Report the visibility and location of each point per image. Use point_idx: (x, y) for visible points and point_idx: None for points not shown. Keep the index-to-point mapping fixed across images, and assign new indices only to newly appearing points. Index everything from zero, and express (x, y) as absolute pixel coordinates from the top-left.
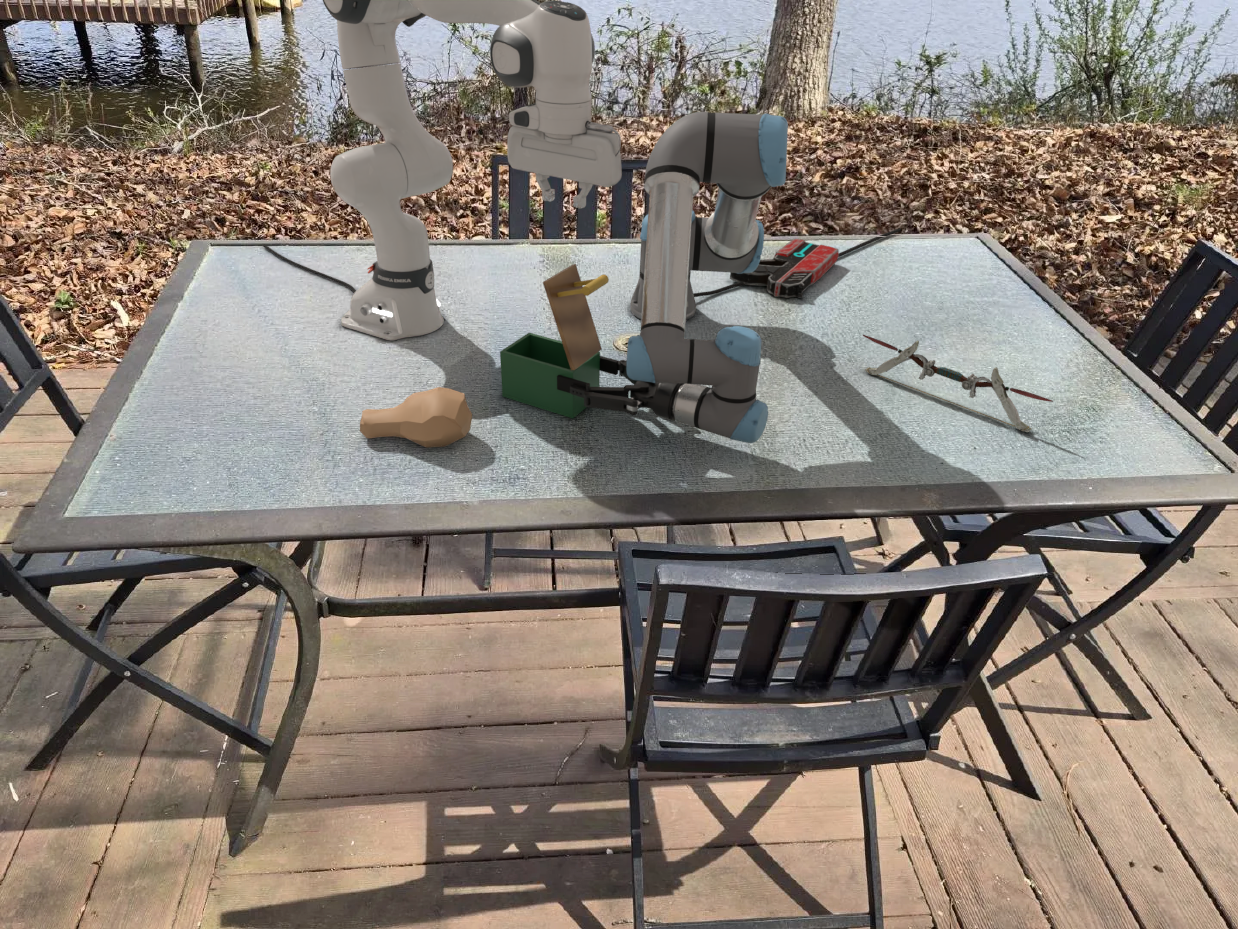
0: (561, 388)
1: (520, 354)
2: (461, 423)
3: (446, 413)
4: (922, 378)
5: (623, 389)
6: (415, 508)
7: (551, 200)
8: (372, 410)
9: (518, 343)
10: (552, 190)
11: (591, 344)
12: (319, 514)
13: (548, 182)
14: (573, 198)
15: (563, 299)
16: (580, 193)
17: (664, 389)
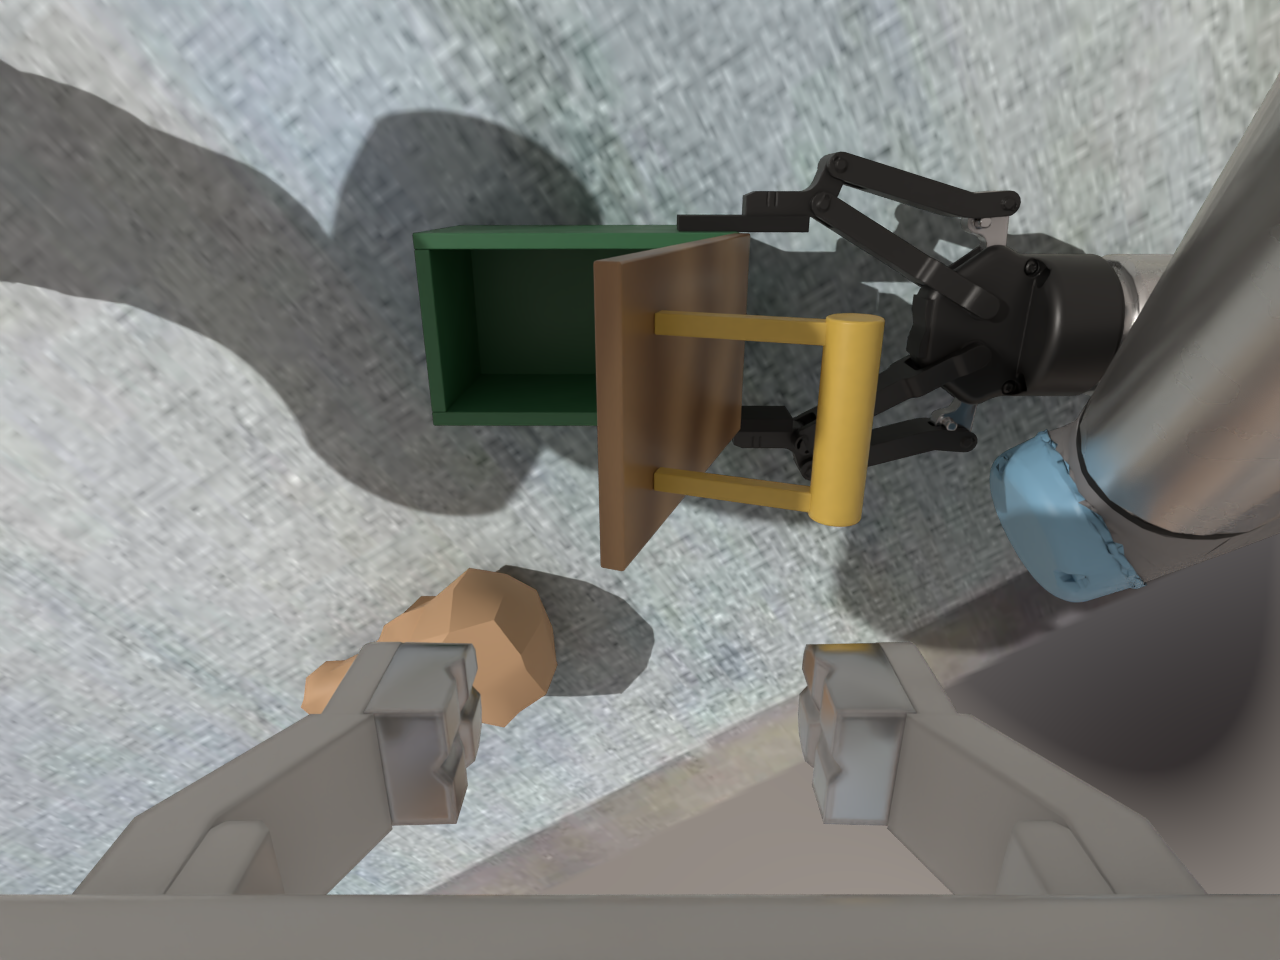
0: None
1: (450, 313)
2: (552, 666)
3: (521, 704)
4: None
5: (906, 392)
6: (617, 805)
7: (480, 704)
8: (320, 699)
9: (439, 331)
10: (445, 756)
11: (738, 298)
12: (487, 880)
13: (298, 765)
14: (822, 807)
15: (667, 443)
16: (965, 893)
17: (1066, 382)
